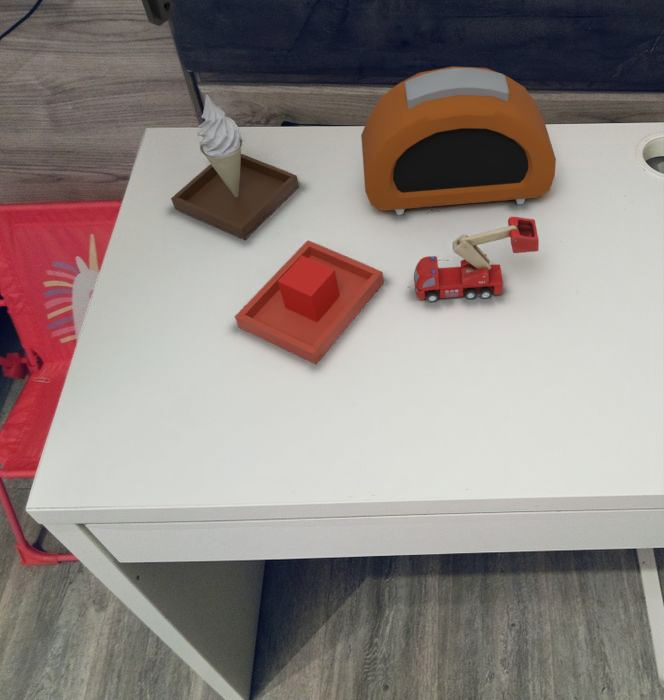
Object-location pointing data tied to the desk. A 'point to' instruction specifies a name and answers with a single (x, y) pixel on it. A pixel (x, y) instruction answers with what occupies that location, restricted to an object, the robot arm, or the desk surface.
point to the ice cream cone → (221, 144)
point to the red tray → (299, 331)
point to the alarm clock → (455, 142)
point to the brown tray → (236, 212)
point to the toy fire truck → (473, 264)
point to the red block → (309, 288)
